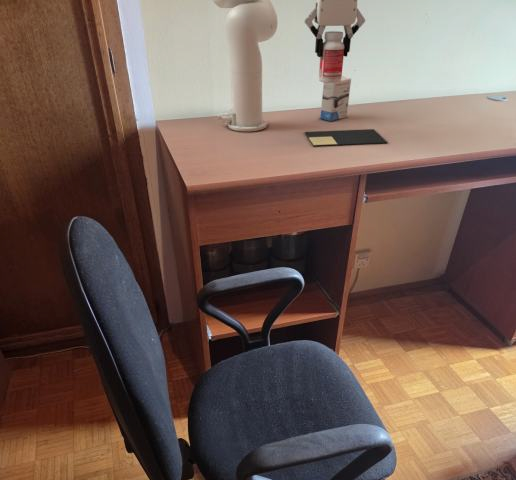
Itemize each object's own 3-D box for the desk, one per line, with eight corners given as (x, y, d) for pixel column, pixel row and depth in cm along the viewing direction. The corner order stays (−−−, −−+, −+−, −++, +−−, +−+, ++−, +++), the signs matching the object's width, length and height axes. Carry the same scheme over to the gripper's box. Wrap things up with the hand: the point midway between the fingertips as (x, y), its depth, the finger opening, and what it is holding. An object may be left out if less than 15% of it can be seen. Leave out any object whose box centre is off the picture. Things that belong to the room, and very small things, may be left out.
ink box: (330, 121, 149) (334, 81, 141) (319, 118, 151) (322, 78, 144) (347, 117, 153) (352, 77, 145) (336, 114, 156) (340, 75, 148)
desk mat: (313, 146, 130) (313, 144, 129) (304, 133, 139) (304, 131, 139) (387, 143, 131) (387, 141, 131) (373, 130, 141) (373, 128, 141)
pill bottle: (345, 81, 122) (351, 32, 115) (328, 84, 120) (333, 34, 113) (330, 77, 126) (335, 30, 119) (313, 80, 124) (317, 31, 116)
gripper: (369, -33, 111) (359, 52, 123) (301, -33, 109) (297, 54, 121) (379, -33, 105) (367, 57, 117) (307, -32, 104) (302, 59, 116)
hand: (331, 55), depth 119 cm, fingers closed on pill bottle, 6 cm apart
